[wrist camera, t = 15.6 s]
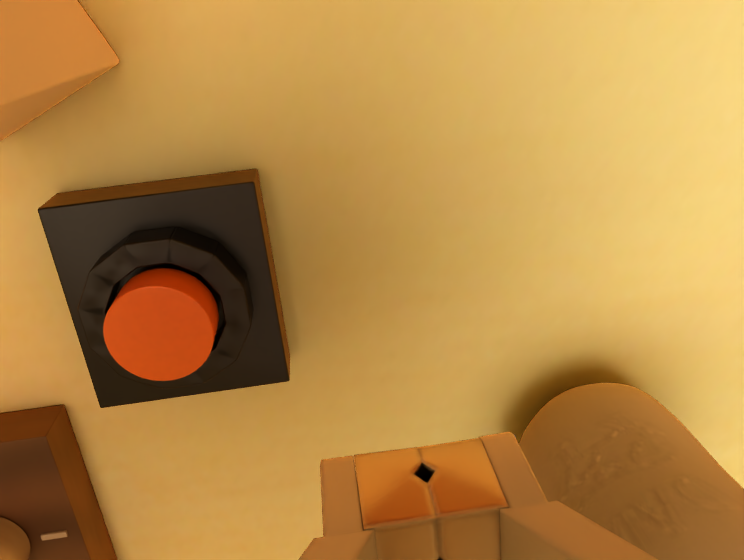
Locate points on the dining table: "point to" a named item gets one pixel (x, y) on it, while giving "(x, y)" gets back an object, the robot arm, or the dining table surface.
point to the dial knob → (13, 541)
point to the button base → (181, 252)
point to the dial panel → (49, 487)
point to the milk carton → (45, 57)
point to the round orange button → (161, 324)
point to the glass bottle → (635, 473)
